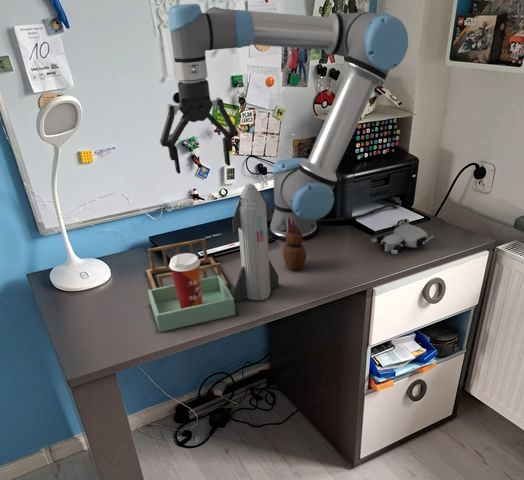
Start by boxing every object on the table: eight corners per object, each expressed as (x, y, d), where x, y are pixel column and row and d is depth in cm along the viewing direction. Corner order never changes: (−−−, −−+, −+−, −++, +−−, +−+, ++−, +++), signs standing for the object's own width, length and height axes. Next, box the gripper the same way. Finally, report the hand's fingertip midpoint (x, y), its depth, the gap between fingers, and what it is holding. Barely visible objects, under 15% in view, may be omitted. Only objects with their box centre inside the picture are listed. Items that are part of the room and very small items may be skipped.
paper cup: (201, 316, 134) (194, 267, 125) (173, 314, 135) (163, 265, 127) (210, 300, 140) (203, 252, 131) (182, 298, 141) (174, 251, 133)
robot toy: (394, 263, 154) (434, 247, 158) (395, 249, 151) (435, 233, 156) (368, 248, 163) (407, 233, 167) (368, 234, 160) (407, 219, 164)
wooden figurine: (280, 265, 155) (278, 217, 146) (297, 260, 157) (296, 212, 148) (292, 275, 150) (290, 225, 141) (309, 269, 152) (309, 220, 143)
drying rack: (212, 260, 160) (209, 237, 156) (228, 287, 146) (225, 262, 142) (147, 273, 156) (142, 249, 151) (157, 302, 142) (152, 277, 137)
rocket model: (271, 280, 148) (266, 173, 130) (286, 290, 143) (282, 181, 125) (228, 296, 142) (216, 187, 124) (242, 307, 137) (232, 195, 119)
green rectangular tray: (221, 290, 145) (219, 274, 142) (235, 314, 135) (233, 298, 132) (151, 305, 141) (147, 289, 138) (159, 332, 130) (156, 315, 127)
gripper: (143, 89, 122) (159, 179, 135) (245, 76, 128) (251, 164, 141) (139, 83, 128) (154, 171, 141) (237, 72, 134) (243, 157, 146)
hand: (203, 168), depth 141 cm, fingers open, 13 cm apart
